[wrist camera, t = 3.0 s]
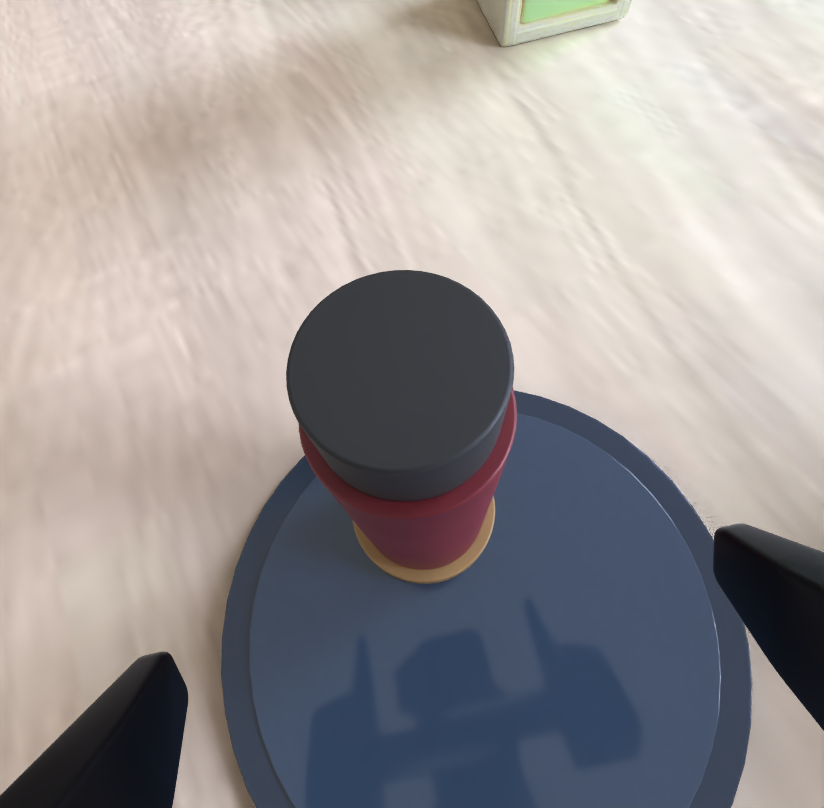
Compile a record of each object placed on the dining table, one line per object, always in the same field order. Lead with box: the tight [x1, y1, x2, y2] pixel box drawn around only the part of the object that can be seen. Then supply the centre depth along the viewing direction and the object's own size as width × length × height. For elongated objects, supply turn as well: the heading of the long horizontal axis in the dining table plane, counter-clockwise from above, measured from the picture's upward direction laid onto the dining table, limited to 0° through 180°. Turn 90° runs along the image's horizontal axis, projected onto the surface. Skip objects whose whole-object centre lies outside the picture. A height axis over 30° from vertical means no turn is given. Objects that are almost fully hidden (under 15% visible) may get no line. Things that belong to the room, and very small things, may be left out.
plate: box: [221, 391, 752, 808], centre depth 18 cm, size 18×18×1 cm
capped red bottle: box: [286, 270, 517, 584], centre depth 14 cm, size 5×5×12 cm
